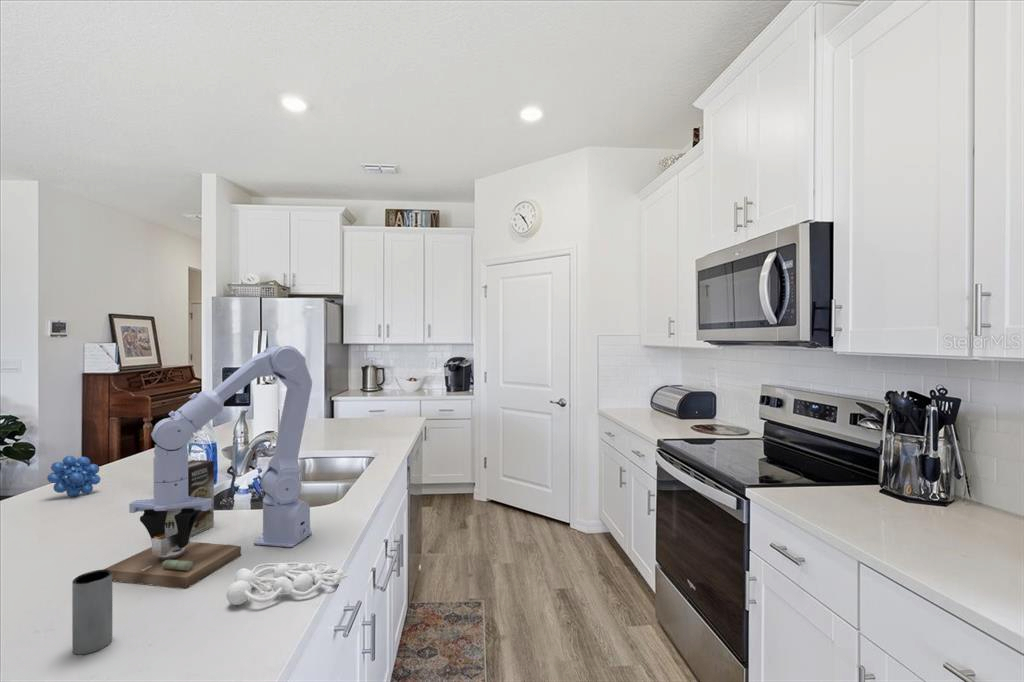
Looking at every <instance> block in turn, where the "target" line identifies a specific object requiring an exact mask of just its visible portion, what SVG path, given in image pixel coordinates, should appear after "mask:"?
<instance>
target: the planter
mask: <svg viewBox="0 0 1024 682" xmlns="http://www.w3.org/2000/svg"><path fill="white" fill-rule="evenodd" d="M71 583H72V585H71V586H72V591H71V593H72V594H71V595H72V601H71V602H72V603H71V604H72V605H71V606H72V607H71V610H72V611H71V614H72V619H71V620H72V625H71V627H72V629H71V630H72V632H71V633H72V635H71V638H72V641H71V642H72V645H71V646H72V652H73V654H75V655H86V654H91V653H94V652H97V651H100V650H102V649H104V648H105V647H107V646H108V645H109V644H110V643H111V642H112V641H113V581H112V571H111V570H103V569H96V570H92V571H88V572H85V573H82V574H79V575H78V576H77V577H75V578H74V579H73V580H72V582H71Z"/></svg>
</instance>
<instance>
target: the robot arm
mask: <svg viewBox="0 0 1024 682" xmlns="http://www.w3.org/2000/svg"><path fill="white" fill-rule="evenodd" d="M306 360H307V359H306V357H305V356H304V355H303V354H302V353H301V352H300V351H299V349H298V348H296V347H294V346H291V345H278V344H276V345H274V344H273V345H271V346H270V345H269V346H267V348H265V349H264V350H263V351H261V352H259V353H257V354H255V355H254V356H252V357H251V358H250V359H249V360H247V361H246V362H244V364H243V365H241V366H240V367H239V368H237V370H235V371H234V372H233V373H232V374H231V375H230V376H228V377H227V378H226V379H225V380H224V381H222V382H221V383H220V384H218V385H217V386H216V387H215V388H214V389H212V390H202V391H200V392H198V393H196V392H194V393H192V394H191V395H189V399H190V400H188V401H187V402H186V403H184V404H183V405H181V406H180V407H179V408H178V409H177V410H175V411H174V410H171V411H170V412H169V413H168V416H170V417H167V418H163V419H161V420H159V421H157V422H156V423H155V425H154V426H153V429H152V432H151V433H150V435H151V438H152V440H153V442H154V443H155V444H154V449H153V453H154V456H153V498H147V499H135V500H133V501H132V502H129V503H128V505H129V506H128V507H129V508H128V509H129V511H128V512H129V513H130V514H135V513H137V512H143V514H142V515H141V516H140V517H139V522H141V524H142V525H143V526H144V527H145V529H146V530H147V533H148V534H149V538H151V539H150V540H151V541H152V538H154V536H157V535H160V534H164V533H165V522H166V516H167V512H168V511H177V510H181V512H180V513H178V514H177V515H175V516H174V518H175V521H176V524H177V530H178V547H179V548H183V547H185V546H186V545H187V544H188V541H189V537H190V533H191V530H192V527H193V525H194V522H195V520H196V518H197V516H198V515H199V513H200V511H207V510H209V509H210V508H211V507H212V498H197V497H188V461H189V454H188V444H189V443H190V441H191V438H192V434H193V433H197V432H198V431H199V430H201V429H202V428H203V427H204V426H206V425H208V423H209V422H210V421H212V420H213V419H214V418H215V417H217V416H218V415H219V414H221V413H222V412H223V410H224V404H225V402H226V401H227V400H228V399H229V398H231V397H232V396H234V395H235V394H237V393H238V392H239V391H241V390H242V389H243V388H245V387H247V386H248V385H249V384H251V382H252V381H254V380H255V379H257V378H261V377H267V376H268V377H269V376H273V375H274V376H275V377H277V378H278V379H279V380H280V381H281V382H282V384H283V385H284V386H285V387H286V390H285V391H286V393H285V397H284V402H283V407H282V412H281V415H280V416H281V417H280V421H279V427H278V431H277V436H276V442H275V447H274V451H273V455H272V457H271V459H270V460H269V461H268V464H267V469H266V470H265V471H264V473H263V474H262V476H261V479H260V482H259V483H260V488H261V490H262V491H263V492H265V495H264V497H263V499H262V536H261V537H260V538H258V539H257V540H254V541H253V545H258V546H270V547H281V548H282V547H284V548H293V547H294V546H296V545H297V544H299V543H301V542H302V541H303V540H305V539H307V538H308V537H309V536H311V535H312V533H313V532H312V531H311V507H310V504H309V503H308V502H307V501H304V500H301V499H299V494H300V493H301V490H302V484H301V483H302V482H301V480H300V474H301V468H300V463H299V459H298V458H299V455H300V454H299V453H300V449H301V443H302V439H303V438H302V437H303V433H304V428H305V424H306V423H305V422H306V418H307V413H308V408H309V403H310V397H311V392H312V387H313V381H312V378H311V375H310V372H309V369H308V367H307V363H306ZM310 534H311V535H310ZM307 536H308V537H307ZM190 538H191V537H190Z"/></svg>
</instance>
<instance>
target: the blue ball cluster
mask: <svg viewBox="0 0 1024 682" xmlns="http://www.w3.org/2000/svg"><path fill="white" fill-rule="evenodd" d="M50 469H51V471H52V472H51V473H50V474H48V475H47V477H46V479H47V481H48V482H49V483H51V484H54V485H53V487H52V488H53V491H54V492H55V493H59V494H62V493H63V494H64V492H65V493H66V495H67V496H68V497H75V498H76V497H77V496H78V495H80V493H82V494H90V493H91V492H92V491H93V490H94V487H93V485H98V484H100V482H101V477H100V475H99V474H98V473H99V471H100V467H99V465H97V464H95V463H91V460H90V458H89V457H87V456H80V457H77V458H76V457H75V456H73V455H66V456H65V457H63V460H62V462H61V461H55V462H53V463H52V464H51V466H50Z"/></svg>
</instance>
